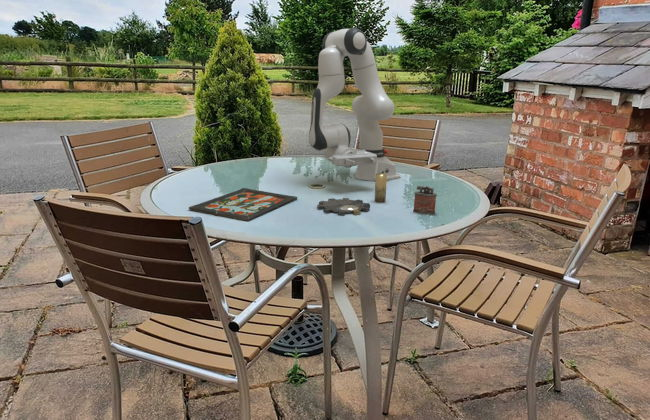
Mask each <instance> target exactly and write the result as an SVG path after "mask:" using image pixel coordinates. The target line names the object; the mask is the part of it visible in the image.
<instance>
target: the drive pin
mask: <svg viewBox="0 0 650 420" xmlns="http://www.w3.org/2000/svg"><path fill="white" fill-rule="evenodd" d="M374 182H375V184H374V203H379V204H381V203H386V199H387V184H388V183H387V182H388V180H387V174H384V173H377V174H376V179H375V181H374Z"/></svg>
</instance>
